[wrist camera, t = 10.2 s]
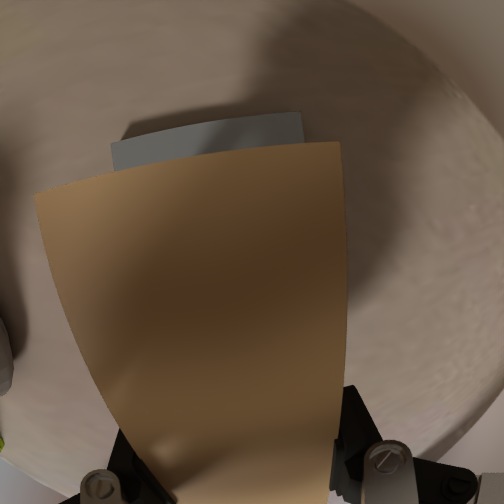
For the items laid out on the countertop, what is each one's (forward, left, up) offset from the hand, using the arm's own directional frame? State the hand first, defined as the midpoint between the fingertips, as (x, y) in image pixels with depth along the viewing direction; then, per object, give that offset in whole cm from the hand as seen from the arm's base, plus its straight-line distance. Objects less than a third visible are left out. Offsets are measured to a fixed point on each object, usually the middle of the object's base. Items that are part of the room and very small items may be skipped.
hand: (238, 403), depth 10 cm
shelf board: (0, 0, -2) cm, 2 cm away
